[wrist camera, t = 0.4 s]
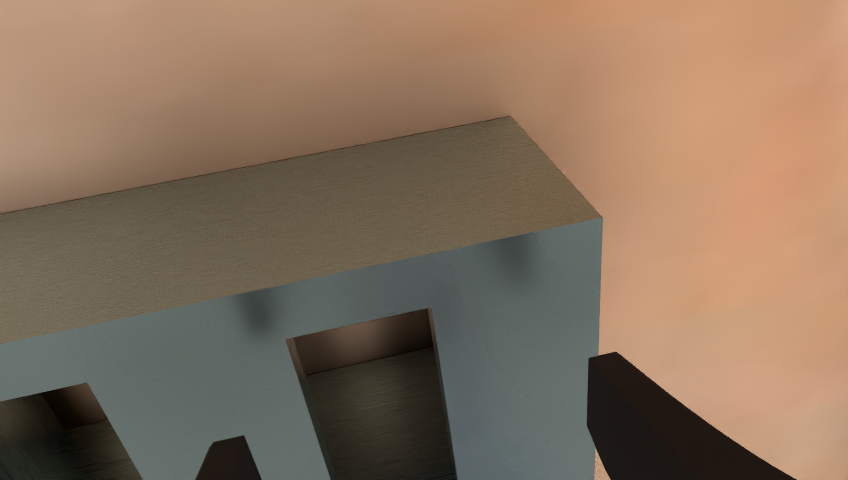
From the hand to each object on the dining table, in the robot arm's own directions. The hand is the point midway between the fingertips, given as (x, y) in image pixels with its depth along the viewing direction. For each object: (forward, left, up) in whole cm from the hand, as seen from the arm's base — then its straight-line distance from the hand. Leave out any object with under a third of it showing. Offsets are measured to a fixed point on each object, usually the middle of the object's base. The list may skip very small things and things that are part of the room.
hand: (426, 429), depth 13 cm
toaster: (-3, +5, -10) cm, 11 cm away
